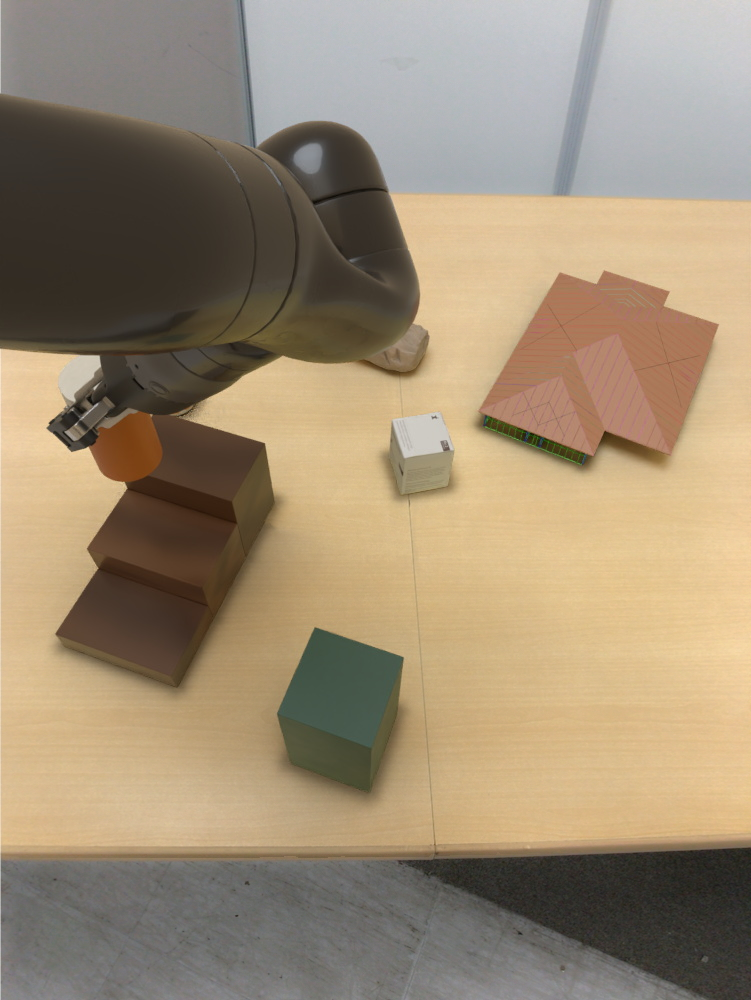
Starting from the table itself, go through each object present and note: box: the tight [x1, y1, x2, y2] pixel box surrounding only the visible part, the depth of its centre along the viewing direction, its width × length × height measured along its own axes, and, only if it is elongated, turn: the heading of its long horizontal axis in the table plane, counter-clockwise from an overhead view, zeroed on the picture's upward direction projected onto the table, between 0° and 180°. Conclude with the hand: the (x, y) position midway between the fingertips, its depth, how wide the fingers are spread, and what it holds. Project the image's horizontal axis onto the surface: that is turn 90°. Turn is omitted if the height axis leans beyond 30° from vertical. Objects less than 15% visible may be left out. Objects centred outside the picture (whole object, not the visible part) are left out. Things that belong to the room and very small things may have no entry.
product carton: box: [388, 410, 456, 496], centre depth 87 cm, size 6×6×7 cm
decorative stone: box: [364, 323, 430, 373], centre depth 98 cm, size 20×8×10 cm, turn 66°
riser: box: [55, 414, 276, 688], centre depth 77 cm, size 24×13×11 cm, turn 160°
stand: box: [276, 626, 405, 794], centre depth 66 cm, size 8×8×14 cm
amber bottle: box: [57, 355, 162, 483], centre depth 61 cm, size 6×6×10 cm
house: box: [477, 270, 720, 466], centre depth 96 cm, size 23×33×8 cm
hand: (93, 400), depth 60 cm, fingers closed on amber bottle, 5 cm apart
